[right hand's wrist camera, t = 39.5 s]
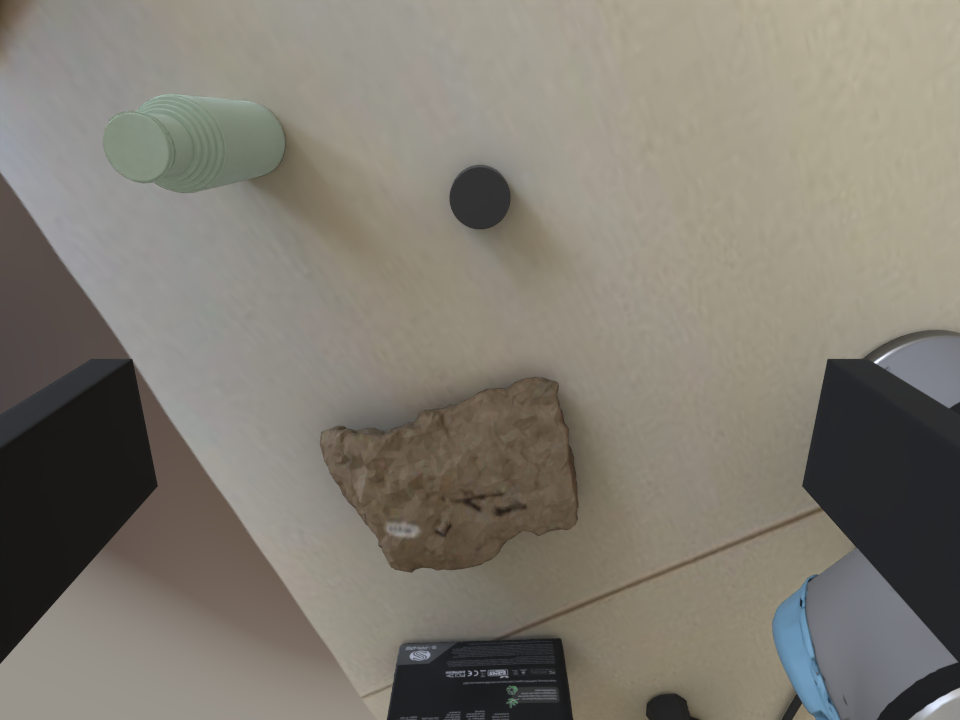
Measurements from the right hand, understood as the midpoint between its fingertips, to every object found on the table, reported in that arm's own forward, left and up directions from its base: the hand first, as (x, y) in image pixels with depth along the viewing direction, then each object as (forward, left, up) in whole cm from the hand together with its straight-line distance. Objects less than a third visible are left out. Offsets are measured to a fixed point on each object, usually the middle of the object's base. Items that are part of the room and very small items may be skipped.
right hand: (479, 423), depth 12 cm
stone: (-22, +8, -41) cm, 47 cm away
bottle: (+9, +16, -41) cm, 45 cm away
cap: (0, 0, -38) cm, 38 cm away
